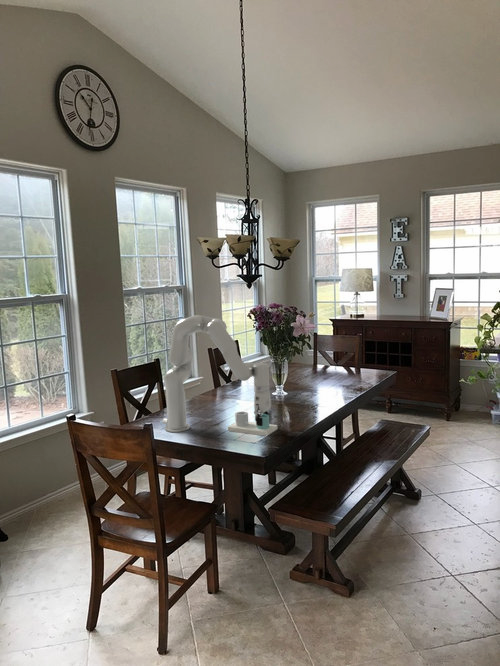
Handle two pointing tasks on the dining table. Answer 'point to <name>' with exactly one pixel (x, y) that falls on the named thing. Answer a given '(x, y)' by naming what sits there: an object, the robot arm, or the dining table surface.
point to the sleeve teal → (264, 422)
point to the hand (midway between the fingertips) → (262, 423)
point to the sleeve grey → (241, 418)
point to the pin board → (252, 429)
